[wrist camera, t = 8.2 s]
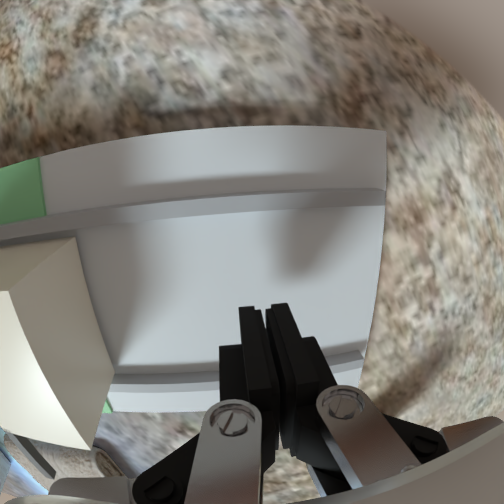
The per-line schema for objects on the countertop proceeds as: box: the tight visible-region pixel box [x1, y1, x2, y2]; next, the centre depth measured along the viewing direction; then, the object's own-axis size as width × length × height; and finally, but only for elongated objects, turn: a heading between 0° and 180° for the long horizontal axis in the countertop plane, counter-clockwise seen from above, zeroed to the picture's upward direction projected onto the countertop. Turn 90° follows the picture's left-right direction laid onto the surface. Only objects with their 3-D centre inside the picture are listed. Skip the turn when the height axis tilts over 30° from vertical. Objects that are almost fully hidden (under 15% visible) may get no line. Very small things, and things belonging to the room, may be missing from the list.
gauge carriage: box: [0, 236, 115, 480], centre depth 9 cm, size 5×15×5 cm, turn 3°
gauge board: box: [0, 125, 387, 413], centre depth 10 cm, size 22×14×7 cm, turn 92°
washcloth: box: [4, 434, 129, 491], centre depth 19 cm, size 12×18×3 cm, turn 7°
